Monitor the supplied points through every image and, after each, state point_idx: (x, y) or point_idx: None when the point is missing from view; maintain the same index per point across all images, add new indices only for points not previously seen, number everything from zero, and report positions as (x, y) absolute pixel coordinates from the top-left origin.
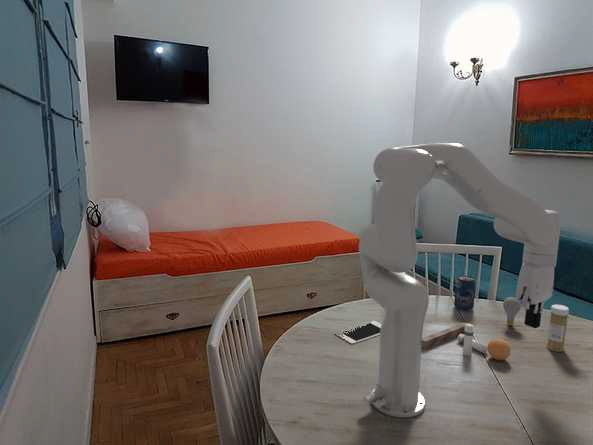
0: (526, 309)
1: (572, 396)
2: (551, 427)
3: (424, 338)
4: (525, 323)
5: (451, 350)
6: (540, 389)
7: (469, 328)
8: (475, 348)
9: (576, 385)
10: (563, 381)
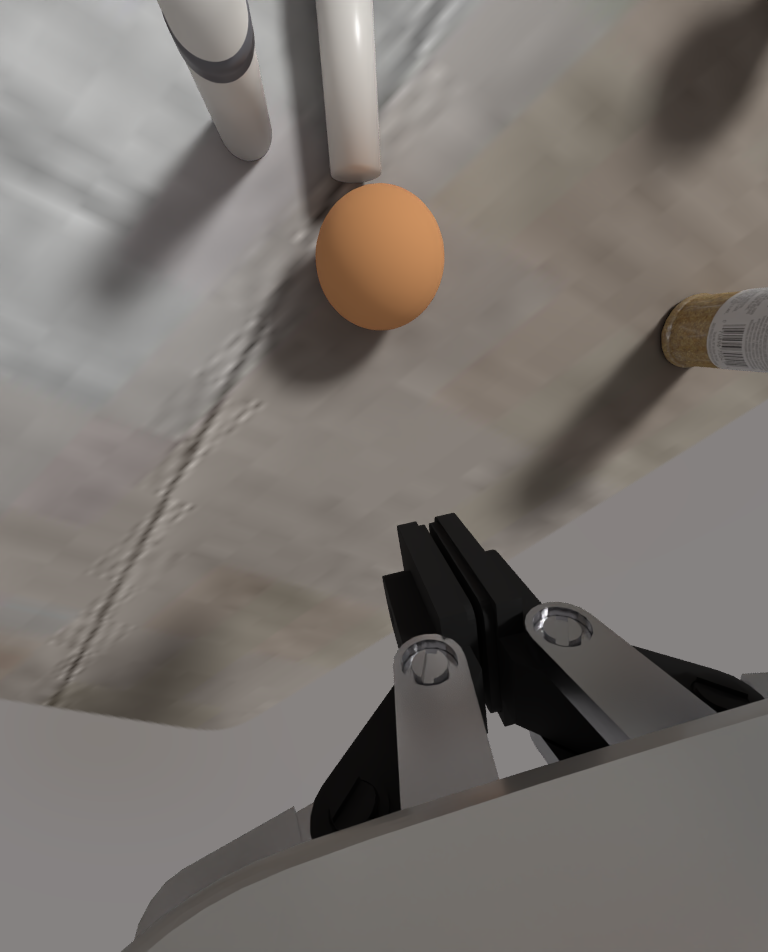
0: (373, 717)
1: None
2: (169, 683)
3: None
4: (398, 536)
5: None
6: (324, 533)
7: (166, 9)
8: (326, 116)
9: None
10: None
